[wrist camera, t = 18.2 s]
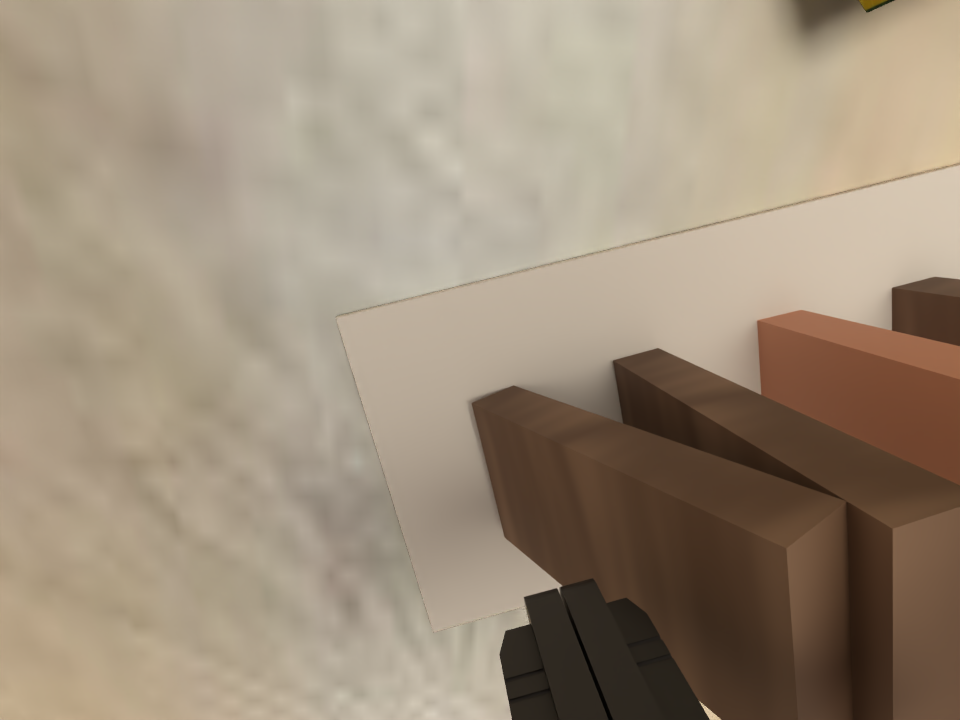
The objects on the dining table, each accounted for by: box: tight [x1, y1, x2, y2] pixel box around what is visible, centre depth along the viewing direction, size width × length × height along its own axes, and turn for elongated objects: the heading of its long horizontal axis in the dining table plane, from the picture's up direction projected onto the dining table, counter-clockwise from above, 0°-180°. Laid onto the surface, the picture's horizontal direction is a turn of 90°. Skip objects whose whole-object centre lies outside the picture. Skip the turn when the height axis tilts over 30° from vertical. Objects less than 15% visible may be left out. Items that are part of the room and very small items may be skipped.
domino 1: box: [471, 385, 853, 720], centre depth 13 cm, size 2×5×10 cm, turn 13°
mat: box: [336, 164, 960, 633], centre depth 18 cm, size 26×12×1 cm, turn 103°
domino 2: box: [757, 310, 960, 485], centre depth 14 cm, size 2×5×10 cm, turn 12°
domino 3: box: [613, 348, 960, 720], centre depth 13 cm, size 2×5×10 cm, turn 13°
